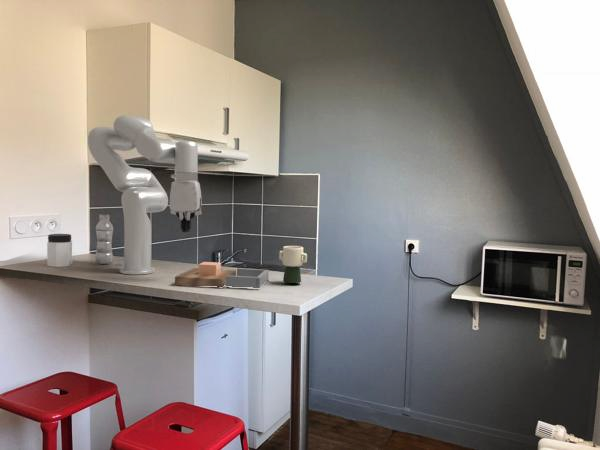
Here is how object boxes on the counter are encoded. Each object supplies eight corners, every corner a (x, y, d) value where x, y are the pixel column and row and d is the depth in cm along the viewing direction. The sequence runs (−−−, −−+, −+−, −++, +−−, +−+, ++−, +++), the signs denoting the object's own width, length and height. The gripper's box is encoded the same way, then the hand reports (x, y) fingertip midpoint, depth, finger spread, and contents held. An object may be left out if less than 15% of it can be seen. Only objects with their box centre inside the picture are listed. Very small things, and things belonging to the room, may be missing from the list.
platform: (174, 285, 164) (175, 276, 164) (192, 276, 182) (192, 268, 182) (222, 288, 163) (222, 279, 162) (235, 278, 181) (236, 270, 180)
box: (225, 288, 164) (226, 276, 163) (237, 279, 179) (237, 268, 179) (259, 290, 162) (259, 277, 162) (268, 281, 178) (268, 269, 178)
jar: (52, 263, 199) (52, 233, 198) (73, 263, 201) (73, 233, 200) (44, 267, 190) (44, 235, 190) (67, 267, 192) (67, 236, 191)
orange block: (198, 274, 170) (198, 264, 169) (203, 271, 175) (204, 261, 175) (215, 275, 169) (216, 265, 169) (220, 272, 175) (220, 262, 175)
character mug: (310, 284, 175) (311, 247, 174) (301, 287, 168) (302, 249, 168) (283, 280, 180) (284, 244, 179) (273, 283, 174) (274, 246, 173)
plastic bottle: (97, 262, 205) (97, 213, 203) (114, 262, 206) (115, 214, 204) (93, 265, 198) (93, 214, 197) (110, 265, 199) (111, 215, 198)
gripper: (160, 177, 168) (160, 231, 169) (204, 178, 166) (203, 233, 167) (169, 177, 175) (169, 230, 176) (210, 178, 173) (210, 231, 175)
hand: (185, 231), depth 172 cm, fingers closed
